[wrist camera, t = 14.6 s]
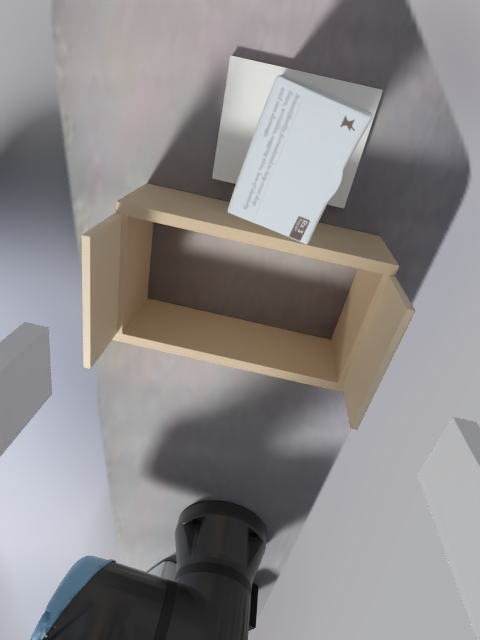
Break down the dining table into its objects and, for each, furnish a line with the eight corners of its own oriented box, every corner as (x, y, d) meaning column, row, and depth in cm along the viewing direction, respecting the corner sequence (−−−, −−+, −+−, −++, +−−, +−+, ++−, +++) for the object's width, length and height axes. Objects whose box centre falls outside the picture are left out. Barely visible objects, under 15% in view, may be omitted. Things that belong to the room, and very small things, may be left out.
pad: (343, 206, 38) (344, 208, 38) (213, 177, 38) (211, 178, 38) (381, 90, 33) (383, 89, 33) (231, 56, 33) (230, 55, 33)
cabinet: (337, 348, 46) (353, 437, 34) (137, 303, 46) (83, 376, 34) (381, 236, 39) (421, 298, 27) (146, 182, 39) (81, 221, 27)
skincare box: (281, 73, 33) (274, 59, 20) (346, 103, 33) (380, 107, 20) (244, 171, 37) (220, 211, 24) (303, 196, 38) (309, 249, 25)
